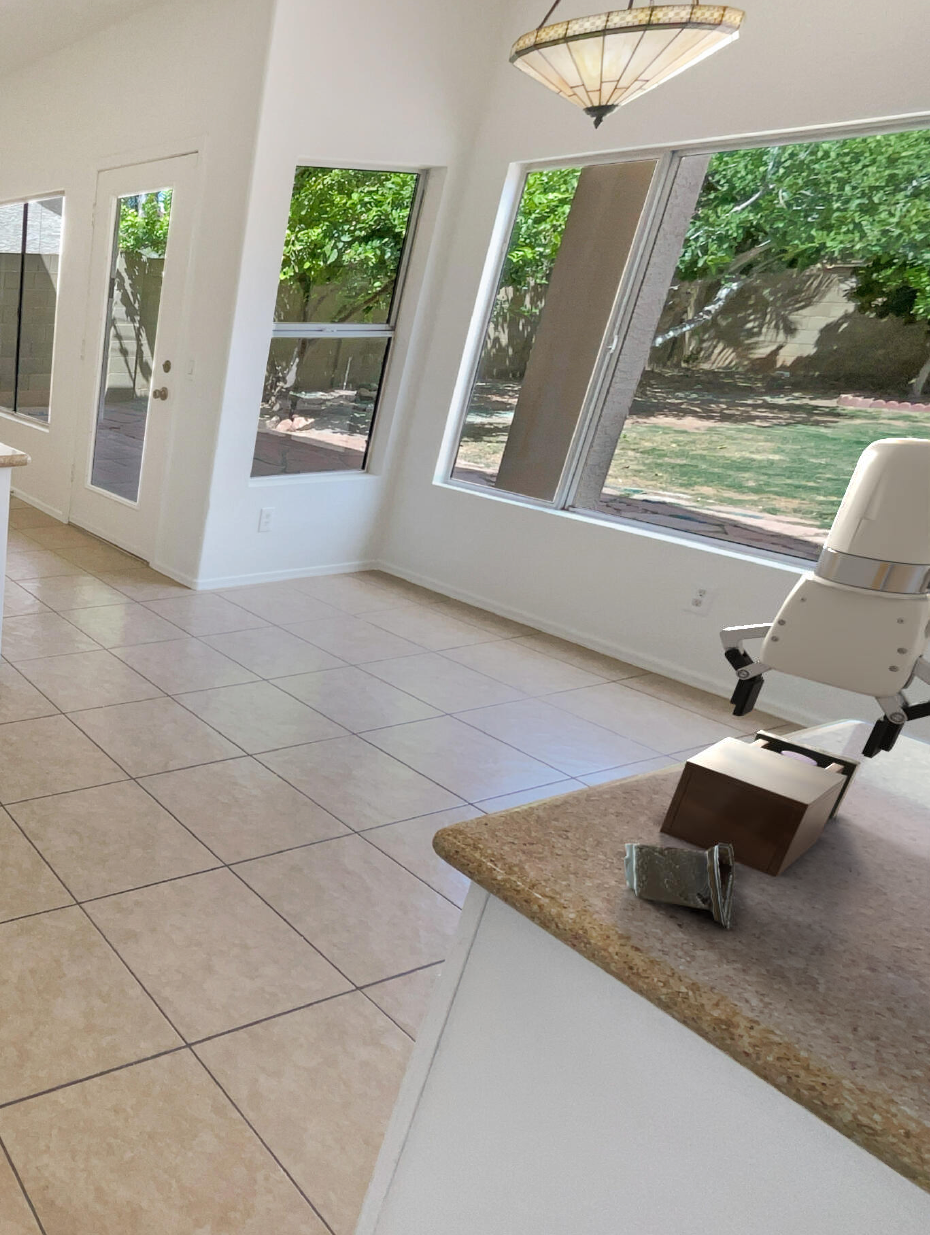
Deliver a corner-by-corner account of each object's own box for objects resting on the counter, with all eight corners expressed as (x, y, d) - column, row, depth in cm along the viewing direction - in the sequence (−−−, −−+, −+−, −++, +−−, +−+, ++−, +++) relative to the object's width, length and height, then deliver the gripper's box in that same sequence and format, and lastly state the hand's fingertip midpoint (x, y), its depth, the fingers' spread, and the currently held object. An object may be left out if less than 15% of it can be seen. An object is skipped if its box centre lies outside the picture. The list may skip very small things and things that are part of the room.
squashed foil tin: (638, 841, 85) (613, 795, 78) (736, 851, 79) (718, 803, 73) (637, 936, 81) (611, 897, 74) (740, 953, 76) (721, 913, 69)
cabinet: (701, 805, 91) (729, 736, 88) (813, 848, 84) (847, 776, 81) (659, 832, 86) (686, 760, 83) (774, 881, 79) (808, 804, 76)
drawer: (754, 773, 96) (776, 721, 94) (848, 806, 90) (874, 751, 87) (704, 805, 90) (726, 750, 87) (802, 843, 83) (829, 785, 81)
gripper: (1026, 593, 74) (940, 762, 80) (767, 545, 88) (710, 692, 94) (1005, 606, 71) (917, 782, 77) (738, 554, 85) (681, 706, 91)
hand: (803, 732), depth 85 cm, fingers open, 9 cm apart
